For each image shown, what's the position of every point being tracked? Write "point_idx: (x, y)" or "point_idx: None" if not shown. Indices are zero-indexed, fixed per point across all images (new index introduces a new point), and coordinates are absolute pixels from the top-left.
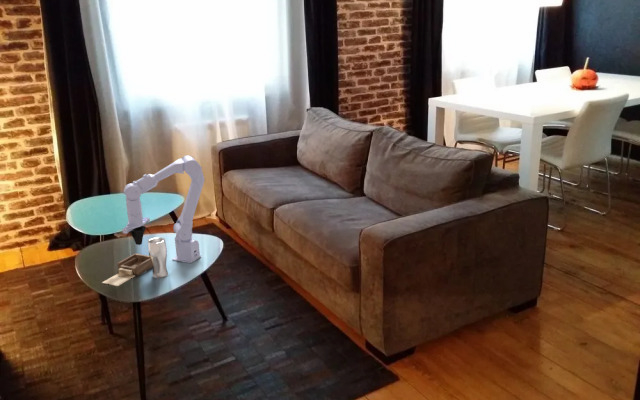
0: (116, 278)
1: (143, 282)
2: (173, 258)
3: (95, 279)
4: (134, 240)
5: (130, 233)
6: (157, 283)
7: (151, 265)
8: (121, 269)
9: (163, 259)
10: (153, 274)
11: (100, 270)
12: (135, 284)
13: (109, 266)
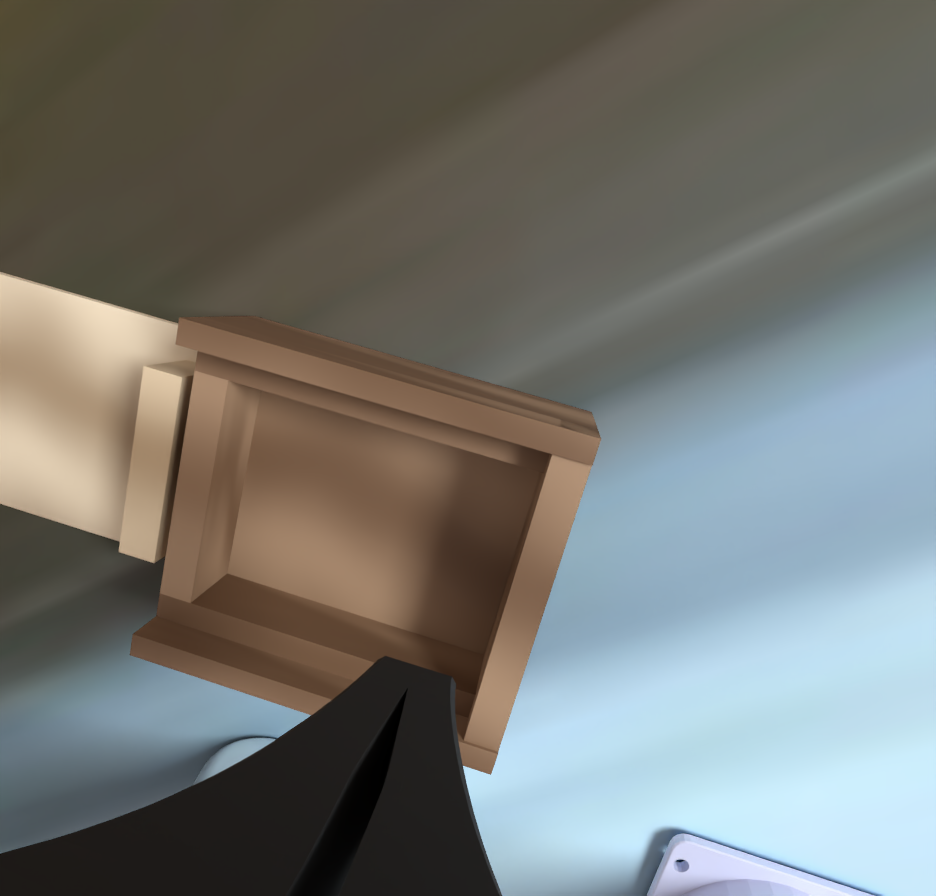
0: (77, 384)
1: (87, 697)
2: (697, 850)
3: (15, 113)
4: (336, 698)
5: (109, 827)
6: None
7: None
8: (145, 411)
9: None
10: (198, 780)
11: (265, 11)
12: (30, 637)
13: (411, 72)
